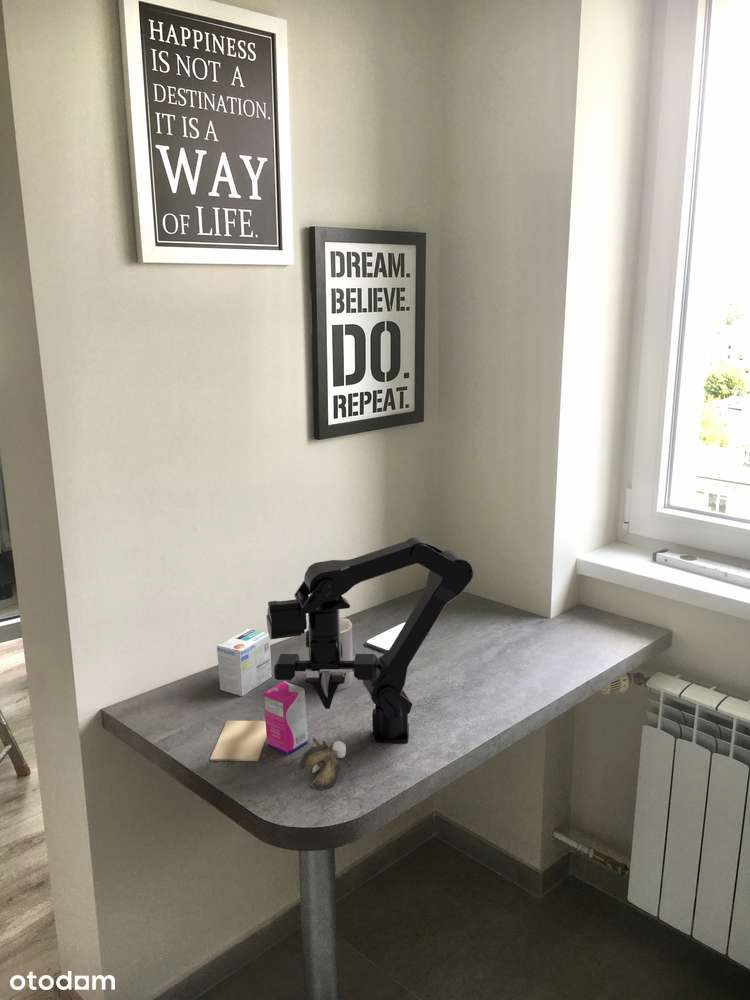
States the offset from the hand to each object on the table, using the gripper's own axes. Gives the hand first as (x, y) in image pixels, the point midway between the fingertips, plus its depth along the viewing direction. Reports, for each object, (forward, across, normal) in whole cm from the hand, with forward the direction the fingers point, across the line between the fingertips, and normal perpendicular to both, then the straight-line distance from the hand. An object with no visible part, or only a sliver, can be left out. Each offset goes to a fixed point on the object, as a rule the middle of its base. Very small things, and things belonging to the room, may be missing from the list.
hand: (327, 707), depth 158 cm
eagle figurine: (+8, 0, +10) cm, 13 cm away
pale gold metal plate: (+8, +17, -1) cm, 19 cm away
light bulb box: (+8, +21, -25) cm, 34 cm away
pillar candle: (+8, +2, -26) cm, 27 cm away
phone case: (+8, -12, -49) cm, 51 cm away
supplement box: (+8, +8, 0) cm, 11 cm away
